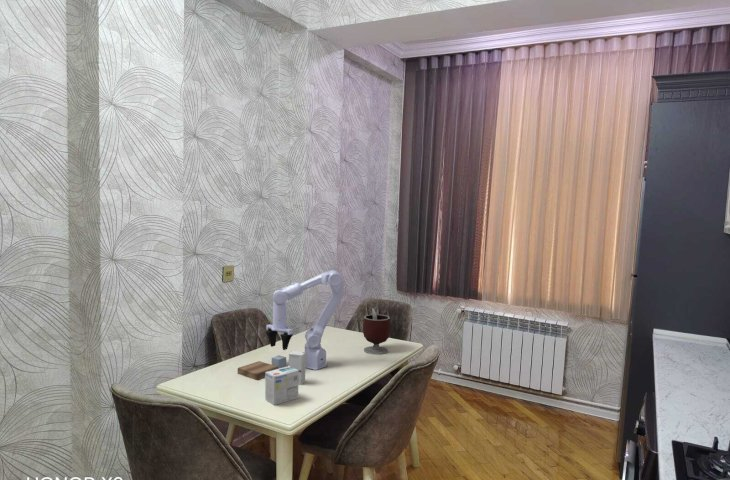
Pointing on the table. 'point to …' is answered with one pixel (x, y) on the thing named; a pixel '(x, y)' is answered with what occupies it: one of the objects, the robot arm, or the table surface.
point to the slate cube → (279, 361)
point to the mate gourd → (376, 332)
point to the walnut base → (256, 370)
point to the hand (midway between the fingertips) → (279, 347)
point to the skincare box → (298, 364)
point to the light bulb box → (281, 385)
